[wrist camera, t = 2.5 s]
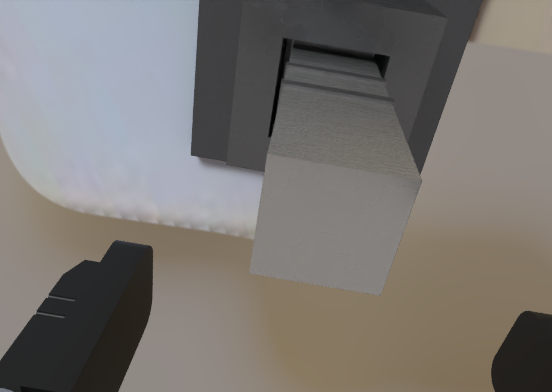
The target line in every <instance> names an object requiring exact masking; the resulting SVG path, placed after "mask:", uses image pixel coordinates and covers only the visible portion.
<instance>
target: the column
mask: <svg viewBox="0 0 552 392" xmlns="http://www.w3.org/2000/svg"><path fill="white" fill-rule="evenodd" d="M374 55H375V53H369V52H363V51H358V50H352V49H346V48H340V47H334V46H328V45H323V44H317V43H311V42H305V41H299V40H294V39H292V45H291V51H290V58H289V62H286V67H285V73H284V79H282V81H281V87H280V93H279V100H278V106H277V113H276V119H275V124H274V128H273V132H272V136H271V140H270V145H269V149H268V153H267V159H266V165H265V172H264V179H263V185H262V192H261V198H260V205H259V211H258V218H257V225H256V231H255V238H254V245H253V251H252V257H251V264H250V271H249V273H250V274H256V275H262V276H268V277H274V278H280V279H285V280H291V281H297V282H303V283H309V284H315V285H320V286H327V287H332V288H338V289H344V290H350V291H356V292H362V293H367V294H373V295H379V296H380V295H381V293H382V291H383V288H384V285H385V282H386V279H387V277H388V274H389V271H390V268H391V266H392V263H393V260H394V257H395V255H396V252H397V249H398V246H399V243H400V241H401V238H402V235H403V232H404V229H405V227H406V224H407V221H408V218H409V216H410V213H411V210H412V207H413V204H414V202H415V199H416V196H417V193H418V191H419V188H420V185H421V182H422V180H421V177H420V174H419V172H418V169H417V167H416V164H415V162H414V159H413V156H412V154H411V151H410V149H409V146H408V144H407V141H406V139H405V136H404V133H403V131H402V128H401V126H400V123H399V121H398V118H397V116H396V113H395V110H394V107H395V103H396V102H395V99H394V98H391V97H389V95H388V92H387V90H386V85H387V80H386V79H385V78H382V77H381V75H380V72H379V69H378V67H377V64H376V62H375V59H374Z"/></svg>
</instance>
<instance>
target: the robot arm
mask: <svg viewBox="0 0 552 392" xmlns="http://www.w3.org/2000/svg"><path fill="white" fill-rule="evenodd" d="M152 285H153V249H152V247H151V246H149V245H142V244H137V243H131V242H125V241H119V240H116V241H114V242H113V243H112V245H111V246H110V248H109V249H108V251H107V252H106V254H105V255H104V257H103V258H102V260H101V262H95V261H88V260H84V261H83V262H81V263H80V264H78V265H77V266H75V267H74V268H72V269H71V270H69V271H68V272H66V273H65V274H63V276H62V277H61V278H60V280H59V281H58V282H57V284H56V285H55V286H54V288H53V289H52V290H51V292H50V293H49V297H48V298H46V299H45V300H44V301H43V303H42V304H41V306H40V307H39V308H38V310H37V313H36V315H33V317H32V318H31V319H30V321H29V322H28V323H27V325H26V326H25V327H24V329H23V330H22V332H21V333H20V334H19V336H18V337H17V339H16V340H15V341H14V342H13V344H12V345H11V347H10V348H9V349H8V351H7V352H6V354H5V355H4V356H3V358H2V359H1V360H0V392H118V391H119V388H120V386H121V384H122V382H123V379H124V377H125V375H126V372H127V370H128V368H129V365H130V363H131V361H132V358H133V356H134V354H135V351H136V349H137V347H138V344H139V342H140V340H141V337H142V335H143V333H144V330H145V328H146V325H147V322H148V319H149V315H150V311H151V305H152ZM491 376H492V384H493V387H494V390H495V392H552V315H550V314H544V313H538V312H532V311H525V312H523V313H521V314H520V316H519V317H518V318H517V320H516V322H515V324H514V325H513V327H512V328H511V330H510V332H509V333H508V335H507V337H506V338H505V340H504V342H503V343H502V345H501V347H500V349H499V350H498V352H497V354H496V355H495V357H494V360H493V363H492V369H491Z"/></svg>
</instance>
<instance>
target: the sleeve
mask: <svg viewBox="0 0 552 392" xmlns="http://www.w3.org/2000/svg"><path fill="white" fill-rule="evenodd" d="M481 2H482V0H199V17H198V35H197V53H196V71H195V89H194V107H193V125H192V143H191V155H192V156H198V157H204V158H209V159H215V160H221V161H227V163H226V165H231V166H237V167H243V168H249V169H255V170H261V171H265V165H266V159H267V153H268V149H269V145H270V140H271V136H272V132H273V128H274V124H275V119H276V113H277V106H278V100H279V93H280V87H281V81H282V79H284V73H285V67H286V62H289V58H290V51H291V45H292V39H294V40H299V41H305V42H311V43H317V44H323V45H328V46H334V47H340V48H346V49H352V50H358V51H363V52H369V53H375V55H374V59H375V62H376V64H377V67H378V69H379V72H380V75H381V77H382V78H385V79H386V80H387V85H386V90H387V92H388V95H389V97H391V98H394V99H395V102H396V103H395V107H394V110H395V113H396V116H397V118H398V121H399V123H400V126H401V128H402V131H403V133H404V136H405V139H406V141H407V144H408V146H409V149H410V151H411V154H412V156H413V159H414V162H415V164H416V167H417V169H418V172H419V174H421V171H422V168H423V165H424V163H425V160H426V157H427V154H428V151H429V149H430V146H431V143H432V140H433V137H434V134H435V131H436V129H437V126H438V123H439V120H440V117H441V115H442V112H443V109H444V106H445V103H446V101H447V98H448V95H449V92H450V89H451V86H452V84H453V81H454V78H455V75H456V72H457V69H458V67H459V64H460V61H461V58H462V55H463V53H464V50H465V47H466V44H467V41H468V38H469V36H470V33H471V30H472V27H473V24H474V22H475V19H476V16H477V13H478V10H479V7H480V5H481Z"/></svg>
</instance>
